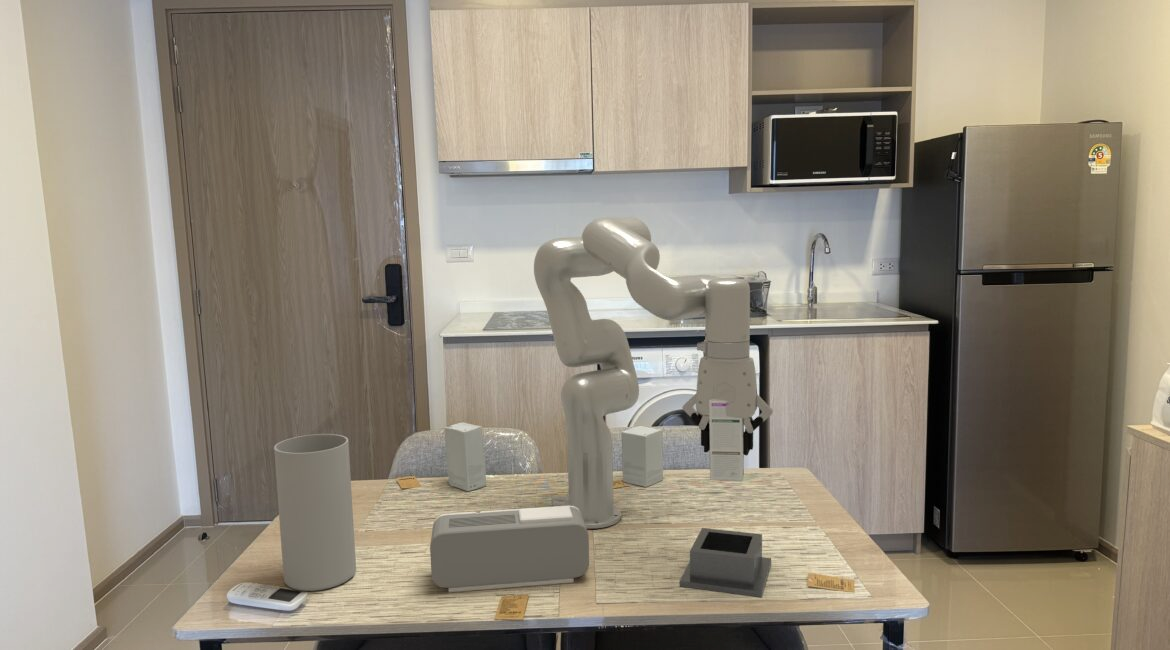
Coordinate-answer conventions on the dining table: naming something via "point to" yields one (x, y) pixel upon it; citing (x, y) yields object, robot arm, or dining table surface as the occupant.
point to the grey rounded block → (509, 548)
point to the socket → (727, 563)
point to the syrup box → (725, 443)
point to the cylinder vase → (315, 511)
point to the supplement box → (642, 456)
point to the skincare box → (465, 456)
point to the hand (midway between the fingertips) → (726, 450)
